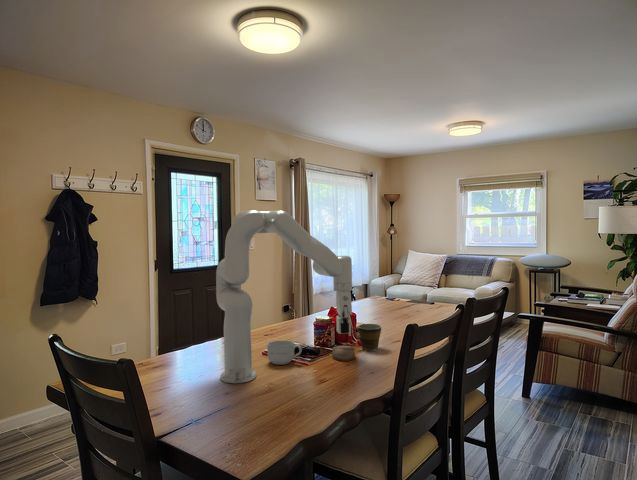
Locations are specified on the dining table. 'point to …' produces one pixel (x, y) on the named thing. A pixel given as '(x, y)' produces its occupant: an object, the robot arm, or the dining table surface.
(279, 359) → the teacup
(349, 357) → the brown round dish
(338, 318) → the sage block
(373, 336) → the ceramic cup
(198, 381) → the dining table surface
